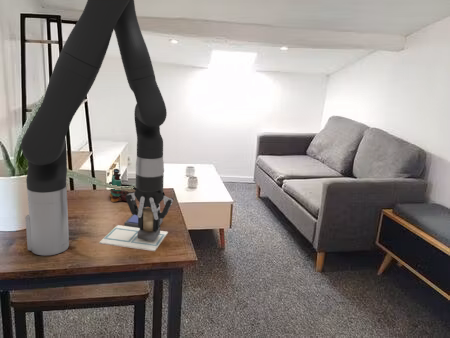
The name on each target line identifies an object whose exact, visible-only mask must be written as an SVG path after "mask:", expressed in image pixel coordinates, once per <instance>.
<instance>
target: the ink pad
mask: <svg viewBox="0 0 450 338" xmlns="http://www.w3.org/2000/svg"><path fill="white" fill-rule="evenodd" d="M163 219H164V218H163ZM163 219H162V218H160V225H161V224H162V223H163V222H164V221H163ZM123 224H124V225H123V226H129V227H136V228H140V227H138V216H137V215H133V214H131V215H130V216H129V218H128V219H126V221H125V222H124V223H123Z"/></svg>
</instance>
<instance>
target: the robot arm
mask: <svg viewBox="0 0 450 338" xmlns="http://www.w3.org/2000/svg"><path fill="white" fill-rule="evenodd" d="M135 5H136V4H135V0H87V1H86V4H85V7H84V9H83V11H82V13H81V15H80V17H79V18H78V20H77V21H76V23H75V25H74V26H73V28H72V29H71V31H70V33H69V35H68V37H67V39H66V41H65V43H64V45H63V46H62V49H61V51H60V53H59V55H58V57H57V60H56V63H55V65H54V68H53V70H52V72H51V76H50V78H49V81H48V84H47V88H46V89H45V90H46V91H45V94H44V98H43V100H42V103H41V105H40V107H39V109H38V111H37V113H36V114H35V116H34V119H33V120H32V122H31V123H30V125H29V127H28V128H27V130H26V132H24V135H23V136H22V139H21V145H20V147H21V152H22V155H23V157H24V158H25V160H27V164H28V165H27V174H26V181H25V183H26V193H27V205H28V208H27V209H28V214H27V215H25V229H26V232H25V233H26V243H27V244H26V245H27V251H31V252H32V253H33V254H34V255H38V256H45V257H46V256H54V255H57V254H61V253H63V252H65V251H67V250H68V248H69V246H70V237H69V215H68V214H69V213H68V212H69V211H68V210H69V209H68V195H67V194H68V192H67V189H68V188H67V176H68V162H67V161H68V156H67V155H68V154H67V153H68V152H67V139H66V137H67V134H68V131H69V128H70V125H71V123H72V120H73V118H74V116H75V115H76V113H77V111H78V110H79V108H80V106H81V105H82V104H83V102H84V101H85V99H86V97H87V96H88V94H89V92H90V90H91V88H92V87H93V85H94V84H95V83H94V82H95V81H96V79H97V76H98V75H99V72H100V69H101V68H102V66H103V65H102V64H103V62H104V60H105V57H106V55H107V51H108V49H109V45H110V42H111V39H112V35H113V32H114V33H115V38H116V41H117V45H118V50H119V53H120V59H121V62H122V65H123V66H122V67H123V69H124V73H125V76H126V81H127V83H128V86H129V88H130V90H131V92H132V93H133V94H134V97H135V101H136V104H135V107H134V116H133V117H134V126H135V133H136V160H135V188H136V191H135V190H134V191H133V192H134V193H129V194H128V195H126V197H125V198H126V200H127V201H126V203H127V205H128V208H129V210H130V212H131V215H137V216H138V227H140V229H141V230H143V210H144V209H145V208H152V212H153V214H154V220H153V231H157V230H158V229H159V227H160V228H161V224H160V218H162V219H165V217H166V216H167V215H168V213H169V210H170V208H171V206H172V204H173V203H174V198H173V197H168V196H167V195H165V192H164V178H165V177H164V172H165V164H164V162H165V161H164V139H163V137H162V135H161V126H162V125H163V124H164V123H165V121H166V119H167V116H168V115H167V113H168V112H167V107H166V103H165V100H164V98H163V95H162V92H161V90H160V87H159V86H158V83H157V80H156V74H155V71H154V67H153V63H152V59H151V55H150V53H149V50H148V47H147V44H146V41H145V39H144V36H143V33H142V30H141V28H140V25H139V21H138V16H137V13H136V12H137V11H136V6H135ZM136 200H137V201H138V203H139V204H138V205H137V202H136ZM162 201H163V204H164V207H163V209H162V211H161V205H160V203H161V202H162Z"/></svg>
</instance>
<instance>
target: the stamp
mask: <svg viewBox="0 0 450 338" xmlns="http://www.w3.org/2000/svg"><path fill="white" fill-rule="evenodd" d="M153 220H154V214H153V212H152V208H150V207H146V208H145V209H144V210H143V230H141V229H140V230H139V231H138V239H146V240H153V241H155V239H156V238H157V237H158V235H159V234H160V231H161V226H160V227H159V229H158V230H157V231H153Z"/></svg>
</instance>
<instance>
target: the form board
mask: <svg viewBox="0 0 450 338" xmlns="http://www.w3.org/2000/svg"><path fill="white" fill-rule="evenodd" d="M139 230H140V228H136V227H129V226H124V225H121V224H120V225H119V224H116V226H115V227H114V228H112V230H110V231H109V233H108V234H106V235H105V236H104V237H103V238H102V239H101V240H100V241H99V245H100V244H103V245H108V246H115V247H120V248H121V247H122V248H123V247H124V248H131V249H136V250H137V249H138V250H145V251H150V252H156V251H157V249H158V248H159V246H160V245H161V243H162V242H163V241H164V239H165V238H166V236H168V233H169V231H166V230H165V231H164V230H160V234H159V235H158V237H157V238H156V239H155V241H153V240H146V239H138V231H139Z"/></svg>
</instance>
